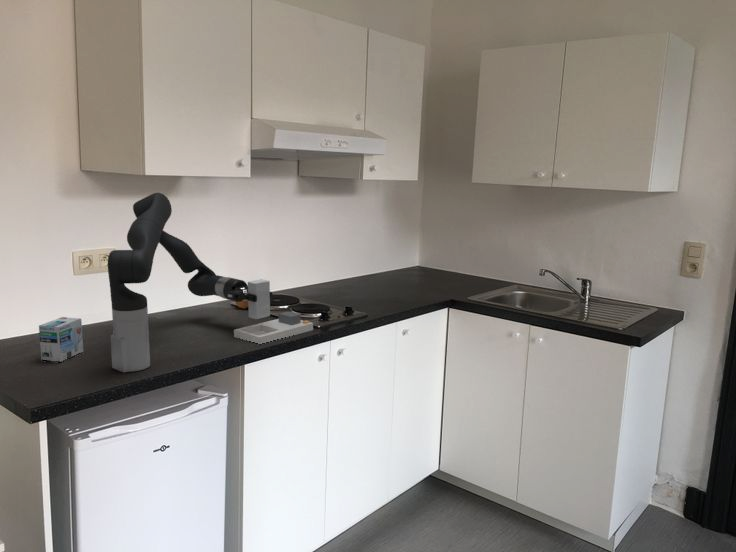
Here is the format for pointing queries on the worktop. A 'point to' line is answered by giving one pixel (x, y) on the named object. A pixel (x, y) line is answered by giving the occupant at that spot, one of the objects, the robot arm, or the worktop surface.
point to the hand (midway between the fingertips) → (263, 297)
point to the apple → (242, 304)
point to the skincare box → (259, 299)
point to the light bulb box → (61, 338)
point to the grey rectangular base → (274, 328)
